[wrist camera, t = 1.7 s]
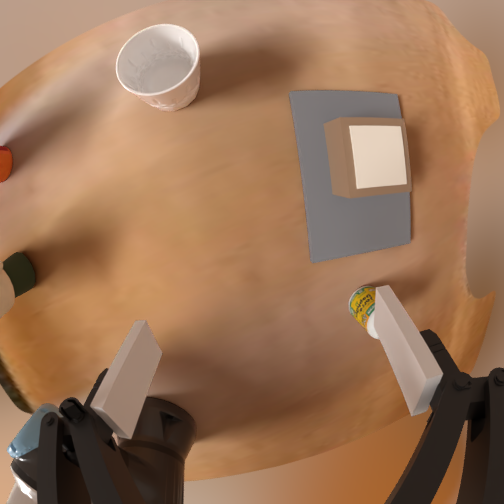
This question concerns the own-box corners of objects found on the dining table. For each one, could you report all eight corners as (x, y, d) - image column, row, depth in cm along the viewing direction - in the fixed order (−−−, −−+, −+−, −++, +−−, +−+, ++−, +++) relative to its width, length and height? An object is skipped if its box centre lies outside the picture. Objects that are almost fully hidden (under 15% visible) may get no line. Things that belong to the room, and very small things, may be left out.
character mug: (20, 229, 31) (-36, 254, 18) (49, 259, 33) (-3, 295, 20) (2, 279, 32) (-44, 312, 20) (28, 307, 34) (-14, 348, 22)
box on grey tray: (406, 241, 38) (432, 253, 32) (310, 260, 37) (327, 277, 31) (393, 95, 32) (419, 87, 26) (288, 93, 31) (302, 78, 25)
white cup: (172, 128, 30) (153, 112, 21) (129, 92, 28) (100, 67, 19) (217, 83, 29) (218, 51, 20) (174, 49, 27) (160, 11, 18)
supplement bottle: (366, 319, 41) (397, 352, 32) (341, 311, 40) (369, 346, 31) (383, 289, 40) (418, 318, 31) (357, 279, 39) (392, 308, 30)
